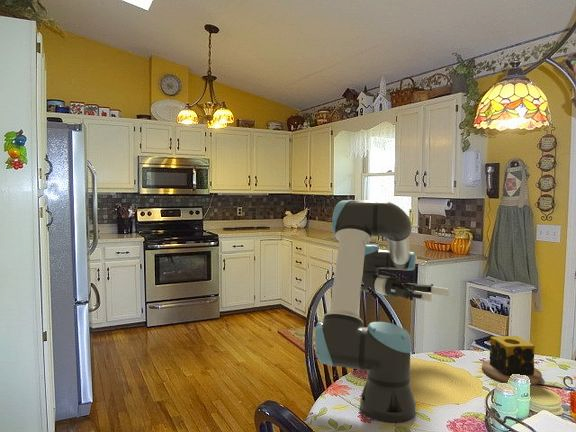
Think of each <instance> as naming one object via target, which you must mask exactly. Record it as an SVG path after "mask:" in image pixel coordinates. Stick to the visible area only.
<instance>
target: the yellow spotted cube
mask: <svg viewBox="0 0 576 432" xmlns="http://www.w3.org/2000/svg"><path fill="white" fill-rule="evenodd" d="M489 344H490V346H489V347H490V348H489V349H490V350H489V360H490V365H492V366H493V367H495V368H496V369H497V370H499V371H500V372H502V373H503V374H504V375H507V376H511V375H512V374H520V375H533V374H534V368H535V347H536V346H535V344H534V343H531V342H529V341H527V340H525V339H524V338H522V337H519V335H508V336H507V335H506V336H505V335H504V336H503V335H501V336H499V335H498V336H490V343H489Z"/></svg>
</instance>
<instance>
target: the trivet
mask: <svg viewBox="0 0 576 432" xmlns="http://www.w3.org/2000/svg"><path fill="white" fill-rule="evenodd" d="M481 372H482V373H483V374H484V375H486V376H487V377H489V378H490V379H493V380H495V381H498V382H501V383H504V382H508V380H509V378H510V376H507V375H504V374H503V373H502V372H500V371H499V370H497V369H496V368H495V367H493V366H492V365H490V359H487V360H484V361H483V362H482V364H481ZM526 376H528V377H529V379H530V383H531V386H537V385H539V384H541V383H542V381H543V374H542V372H541V371H540V370H539V369H537V368H535V367H534V374H533V375H526Z"/></svg>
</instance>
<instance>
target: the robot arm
mask: <svg viewBox="0 0 576 432" xmlns="http://www.w3.org/2000/svg"><path fill="white" fill-rule="evenodd" d="M332 213H333V214H332V217H331V221H332V222H331V231H332V233H333V234H334V235H335V238H336V240H337V241H338V248H337V257H336V262H335V263H336V265H335V270H334V276H333V284H332V285H333V286H332V293H331V300H330V307H329V311H328V312H327V313H325V314H324V315H323V319H322V321H319V322H317V323H316V326H315V332H314V334H315V335H314V347H315V354H316V357H317V360H318V361H319V362H320V364H323V365H327V366H332V367H340V368H341V367H342V368H349V369H355V370H363V371H366V374H367V375H366V381H365V384H364V387H363V390H362V393H361V396H360V399H359V401H360V405H359V407H360V409H361V411H362V412H363V413H364V414H365V415H366V416H368V417H370V418H372V419H374V420H378V421H381V422H387V423H403V422H408V421H410V420H412V419H413V418H414V417H415V416H416V411H417V407H416V406H417V405H416V401H415V397H414V394H413V391H412V387H411V353H412V350H413V349H412V344H411V342H412V341H411V335H410V333H409V332H408V331H407V330H406V329H405V328H403V327H401V326H400V325H397V324H394V323H392V322H387V321H386V322H385V321H372V322H369V324H368V325H367V327H366V326H363V323H364V321H363V320H362V319H361V317H360V316H359V314H360V313H359V312H360V302H361V293H362V292H364V291H365V292H367V293H370V292H369V290H368V289H367V288H369V287H370V288H371V290H372V291H374V292H375V293H374V294H377V293H379V294H378V295H381V297H384V296H388V297H391V298H392V297H393V298H397V297H402V298H403V299H407V300H408V299H409V301H414V300H413V299H415V300H421V301H427V302H432V299H433V298H432V297H433V294H434V295H439V296H444V297H445V296H446V297H449V296H450V295H449V288H447V287H446V288H445V287H440V286H434V284H433V283H430V284H424V283H423V284H421V283H420V284H419V283H411V282H402V281H401V279H400V278H399V277H394V276H388V275H382V274H379V269H383V270H398V271H414V270H415V269H416V253H415V252H414V251H410V235H411V234H412V222H411V219H410V217H409V215H408V214H407V213H406V211H404V210H403V209H402V208H401V207H399V206H398V205H396V204H395V203H392V202H391V201H387V200H355V199H348V200H346V199H345V200H340V201H338V202H337V204H336V205H335V207H334V209H333V212H332ZM376 236H377V237H380V236H381V237H385V238H386V239H387V245H388V250H386V249H385V250H383V249H380V246H379V245H377V244H370V243H371V241H372V237H376ZM362 281H363V283H364V286H361V285H362ZM376 289H377V290H376Z"/></svg>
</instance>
